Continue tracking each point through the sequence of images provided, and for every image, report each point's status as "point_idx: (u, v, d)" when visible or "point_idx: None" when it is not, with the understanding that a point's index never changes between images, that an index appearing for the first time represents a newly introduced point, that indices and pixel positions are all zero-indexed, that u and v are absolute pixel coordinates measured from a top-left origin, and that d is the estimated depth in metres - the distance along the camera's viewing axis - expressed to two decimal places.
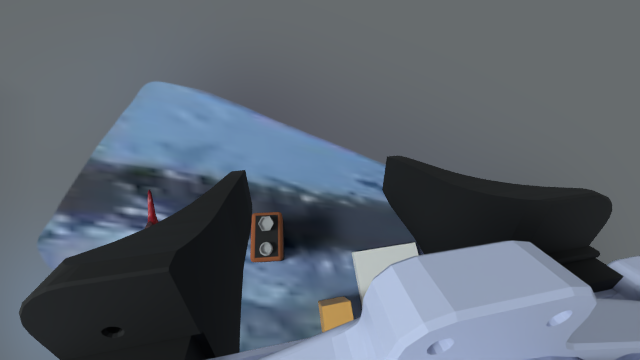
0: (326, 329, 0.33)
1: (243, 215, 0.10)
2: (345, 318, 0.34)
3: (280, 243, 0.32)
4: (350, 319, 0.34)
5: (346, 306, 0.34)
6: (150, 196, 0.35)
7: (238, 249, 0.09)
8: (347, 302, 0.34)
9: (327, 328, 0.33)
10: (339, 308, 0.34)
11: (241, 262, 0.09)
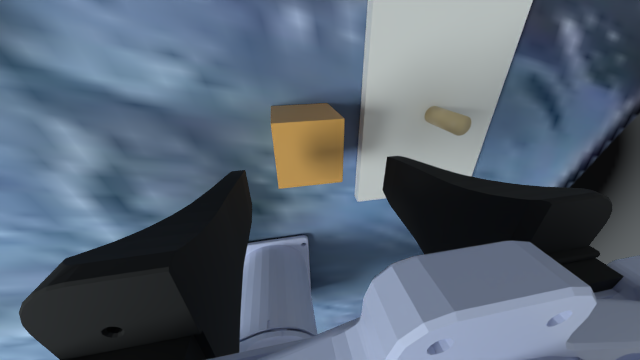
0: (280, 169, 0.15)
1: (243, 215, 0.10)
2: (325, 152, 0.15)
3: None
4: (336, 155, 0.15)
5: (332, 129, 0.14)
6: None
7: (238, 249, 0.09)
8: (336, 121, 0.14)
9: (282, 167, 0.15)
10: (315, 132, 0.14)
11: (241, 262, 0.09)
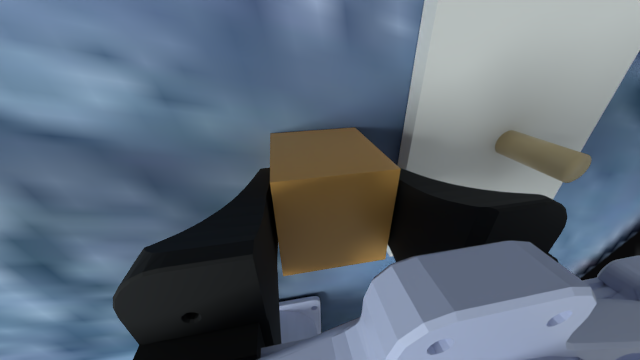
0: (286, 250, 0.09)
1: None
2: (363, 221, 0.09)
3: None
4: (380, 224, 0.09)
5: (378, 186, 0.08)
6: None
7: (274, 244, 0.09)
8: (386, 172, 0.08)
9: (290, 247, 0.09)
10: (348, 192, 0.08)
11: (275, 257, 0.09)
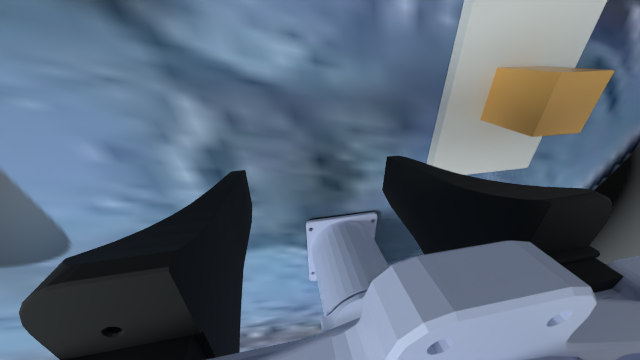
0: (543, 118, 0.17)
1: (243, 215, 0.10)
2: (583, 103, 0.17)
3: None
4: (589, 106, 0.17)
5: (601, 80, 0.16)
6: None
7: (238, 249, 0.09)
8: (607, 72, 0.16)
9: (546, 116, 0.17)
10: (587, 82, 0.16)
11: (241, 262, 0.09)
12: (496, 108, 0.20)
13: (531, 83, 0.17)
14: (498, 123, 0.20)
